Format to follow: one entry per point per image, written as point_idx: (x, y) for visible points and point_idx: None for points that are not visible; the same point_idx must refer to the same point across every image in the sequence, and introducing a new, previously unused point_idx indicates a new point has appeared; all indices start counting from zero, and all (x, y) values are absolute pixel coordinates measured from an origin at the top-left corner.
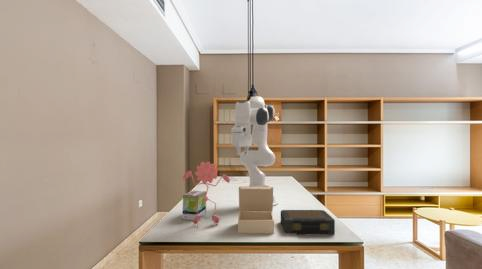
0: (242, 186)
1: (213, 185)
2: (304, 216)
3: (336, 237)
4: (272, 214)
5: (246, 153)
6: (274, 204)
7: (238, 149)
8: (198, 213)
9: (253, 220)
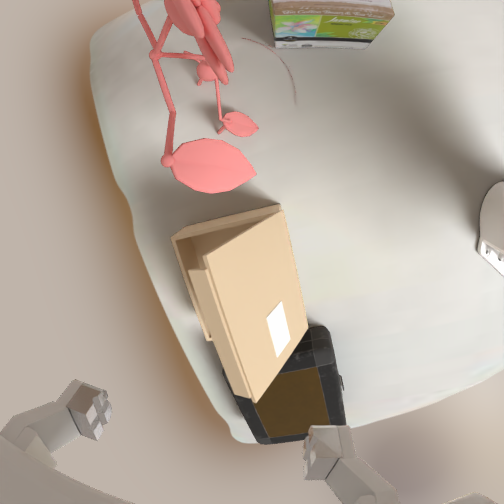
0: (206, 278)
1: (167, 103)
2: (267, 404)
3: (244, 422)
4: None
5: (303, 455)
6: (502, 274)
7: (37, 431)
8: (281, 40)
9: (186, 285)
